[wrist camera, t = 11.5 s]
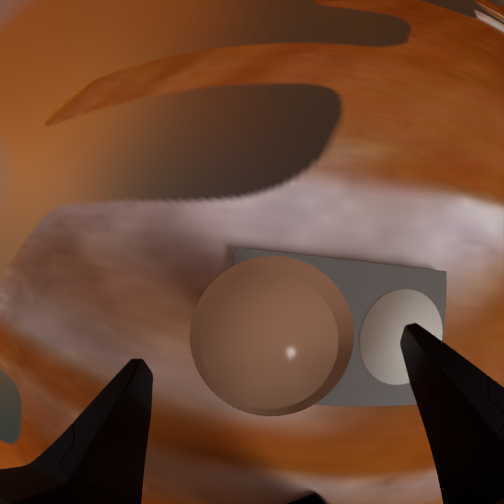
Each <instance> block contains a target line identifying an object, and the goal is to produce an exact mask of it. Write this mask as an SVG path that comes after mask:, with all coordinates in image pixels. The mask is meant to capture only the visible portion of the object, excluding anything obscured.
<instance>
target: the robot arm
mask: <svg viewBox="0 0 504 504" xmlns="http://www.w3.org/2000/svg"><path fill="white" fill-rule="evenodd" d="M400 347H401V351H402V355H403V358H404V362H405V366H406V370H407V374H408V378H409V382H410V385H411V388H412V391H413V394H414V397H415V400H416V403H417V405H418V408H419V411H420V415H421V418H422V421H423V424H424V427H425V430H426V434H427V437H428V441H429V444H430V448H431V451H432V455H433V459H434V463H435V467H436V471H437V475H438V480H439V484H440V489H441V494H442V499H443V504H504V387H502V386H501V385H500V384H498V383H497V382H496V381H494V380H493V379H492V378H490V377H489V376H487V375H486V374H485V373H484V372H483V371H481V370H480V369H479V368H477V367H476V366H475V365H473V364H472V363H471V362H469V361H468V360H467V359H465V358H464V357H463V356H461V355H460V354H459V353H457V352H456V351H455V350H453V349H452V348H451V347H449V346H448V345H447V344H445V343H444V342H442V341H441V340H440V339H438V338H437V337H436V336H434V335H433V334H431V333H430V332H429V331H427V330H426V329H424V328H423V327H422V326H420V325H419V324H417V323H412V324H408V325H406V326H405V327H404V330H403V333H402V337H401V340H400ZM152 385H153V375H152V372H151V370H150V369H149V367H148V366H147V364H146V363H145V361H144V360H143V359H131V360H130V361H129V362H128V363H127V364H126V365H125V366H124V367H123V368H122V370H121V371H120V372H119V373H118V374H117V375H116V376H115V377H114V378H113V379H112V380H111V381H110V383H109V384H108V385H107V386H106V387H105V388H104V389H103V390H102V391H101V392H100V393H99V395H98V396H97V397H96V398H95V399H94V400H93V401H92V402H91V403H90V404H89V405H88V407H87V408H86V409H85V410H84V411H83V412H82V413H81V414H80V415H79V416H78V418H77V419H76V420H75V421H74V422H73V423H72V424H71V425H70V426H69V427H68V429H67V430H66V431H65V432H64V433H63V434H62V435H61V436H60V437H59V438H58V439H57V440H56V441H55V442H54V443H53V444H52V445H51V446H50V447H48V448H47V449H46V450H45V451H44V452H43V453H42V454H41V455H40V456H39V457H37V458H36V459H35V460H34V461H33V462H31V463H30V464H28V465H25V466H21V467H14V468H7V469H0V504H141V499H142V486H143V475H144V465H145V456H146V448H147V440H148V433H149V426H150V418H151V406H152ZM313 498H317V499H315V500H312V499H313ZM289 504H327V503H326V502H325V501H324V500H323V498H322V497H321V496H320V495H319V494H316V493H314V494H310V495H308V496H306V497H304V498H301V499H299V500H296V501H294V502H291V503H289Z"/></svg>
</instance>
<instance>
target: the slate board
mask: <svg viewBox="0 0 504 504" xmlns="http://www.w3.org/2000/svg"><path fill="white" fill-rule="evenodd" d="M262 256H284V257H289V258H294V259H297V260H300V261H303V262H306V263H308V264H310V265H312V266H314V267H315V268H317V269H318V270H320V271H321V272H323V273H324V274H325V275H326V276H328V277H329V278H330V279H331V280H332V281H333V282H334V284H335V285H336V286H337V287H338V288H339V290H340V291H341V293H342V294H343V296H344V298H345V300H346V302H347V304H348V306H349V309H350V312H351V315H352V320H353V325H354V344H353V350H352V355H351V359H350V361H349V364H348V367H347V369H346V371H345V373H344V374H343V376H342V378H341V379H340V381H339V382H338V384H337V385H336V386H335V387H334V388H333V389H332V390H331V392H330V393H329V394H327V395H326V396H325V397H324V398H323V399H321V400H320V401H319V402H317V403H315V404H317V405H334V406H398V405H414V404H417V403H416V400H415V397H414V394H413V391H412V388H411V385H410V382H409V378H408V374H407V370H406V366H405V362H404V358H403V355H402V351H401V347H400V340H401V337H402V333H403V330H404V327H405V326H406V325H408V324H412V323H417V324H419V325H420V326H422V327H423V328H424V329H426V330H427V331H429V332H430V333H431V334H433V335H434V336H436V337H437V338H438V339H440V340H441V341H442V342H443V332H444V321H445V307H446V271H439V270H430V269H422V268H413V267H405V266H396V265H388V264H379V263H370V262H362V261H353V260H344V259H336V258H327V257H318V256H309V255H301V254H292V253H283V252H274V251H265V250H257V249H248V248H239V247H236V248H235V254H234V260H233V266H234V265H236V264H238V263H240V262H242V261H245V260H248V259H251V258H256V257H262Z"/></svg>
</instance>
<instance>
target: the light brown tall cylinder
mask: <svg viewBox="0 0 504 504" xmlns="http://www.w3.org/2000/svg"><path fill="white" fill-rule="evenodd" d="M353 344H354V325H353V320H352V315H351V312H350V309H349V306H348V304H347V302H346V300H345V298H344V296H343V294H342V293H341V291H340V290H339V288H338V287H337V286H336V285H335V284H334V282H333V281H332V280H331V279H330V278H329V277H328V276H326V275H325V274H324V273H323V272H321V271H320V270H318V269H317V268H315V267H314V266H312V265H310V264H308V263H306V262H303V261H300V260H297V259H294V258H289V257H284V256H262V257H256V258H251V259H248V260H245V261H242V262H240V263H238V264H236V265H234V266H232V267H230V268H229V269H227V270H225V271H224V272H223V273H221V274H220V275H219V276H218V277H217V278H215V279H214V280H213V282H212V283H211V284H210V285H209V286H208V287H207V289H206V290H205V291H204V293H203V294H202V296H201V298H200V300H199V301H198V303H197V306H196V308H195V311H194V314H193V318H192V322H191V330H190V345H191V351H192V356H193V359H194V362H195V365H196V367H197V370H198V372H199V374H200V376H201V377H202V379H203V380H204V382H205V383H206V385H207V386H208V387H209V388H210V389H211V390H212V392H214V393H215V394H216V395H217V396H218V397H219V398H220V399H222V400H223V401H225V402H226V403H227V404H229V405H231V406H233V407H235V408H237V409H239V410H242V411H244V412H247V413H251V414H256V415H262V416H281V415H287V414H292V413H295V412H298V411H301V410H304V409H306V408H308V407H310V406H312V405H314V404H315V403H317V402H319V401H320V400H321V399H323V398H324V397H325V396H326V395H327V394H329V393H330V392H331V390H332V389H333V388H334V387H335V386H336V385H337V384H338V382H339V381H340V379H341V378H342V376H343V374H344V373H345V371H346V369H347V367H348V364H349V361H350V359H351V355H352V350H353Z"/></svg>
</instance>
